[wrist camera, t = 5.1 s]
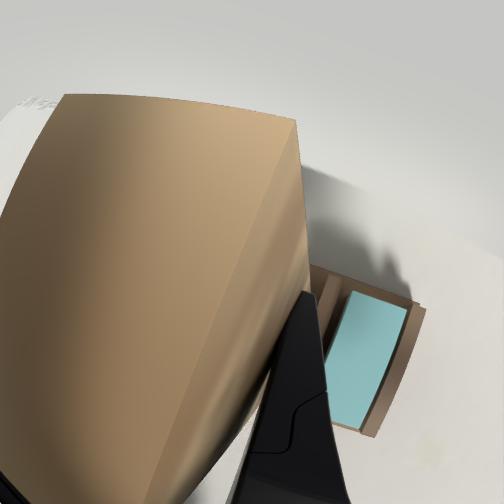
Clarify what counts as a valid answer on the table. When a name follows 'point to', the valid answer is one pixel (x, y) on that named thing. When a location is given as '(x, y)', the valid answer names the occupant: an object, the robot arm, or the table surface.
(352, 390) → the offcut upper
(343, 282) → the rack
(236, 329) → the oak board
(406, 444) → the table surface
